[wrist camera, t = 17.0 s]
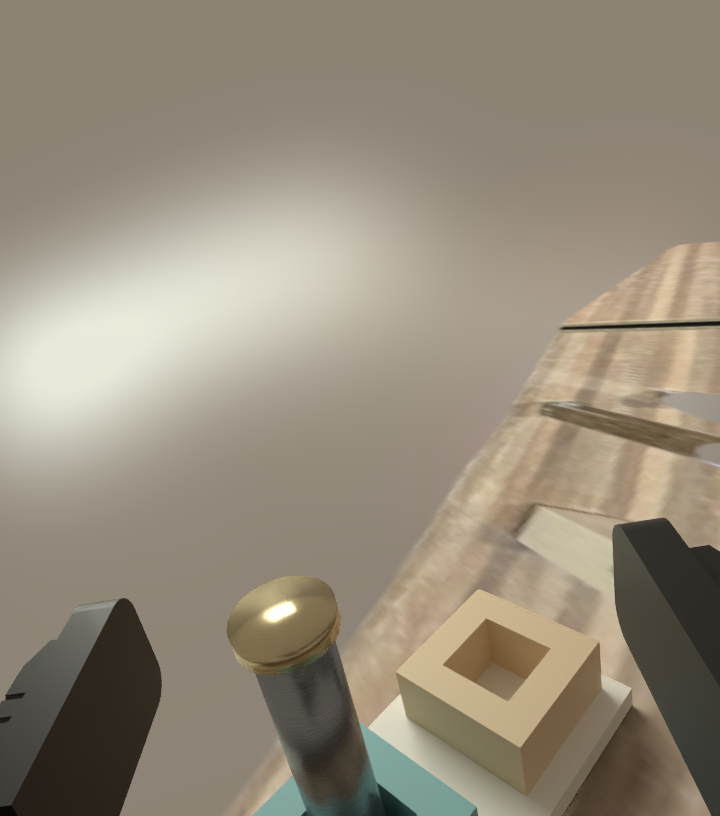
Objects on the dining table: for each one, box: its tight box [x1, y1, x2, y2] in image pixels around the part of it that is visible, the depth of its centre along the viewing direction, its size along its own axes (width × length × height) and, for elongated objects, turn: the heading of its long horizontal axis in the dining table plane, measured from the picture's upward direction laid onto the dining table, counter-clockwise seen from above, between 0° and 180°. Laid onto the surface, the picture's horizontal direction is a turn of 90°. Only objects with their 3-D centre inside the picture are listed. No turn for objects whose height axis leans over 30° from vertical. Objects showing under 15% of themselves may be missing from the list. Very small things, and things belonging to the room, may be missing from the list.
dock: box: [253, 589, 632, 816], centre depth 37 cm, size 25×12×6 cm, turn 135°
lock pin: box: [227, 576, 386, 816], centre depth 30 cm, size 5×5×18 cm
